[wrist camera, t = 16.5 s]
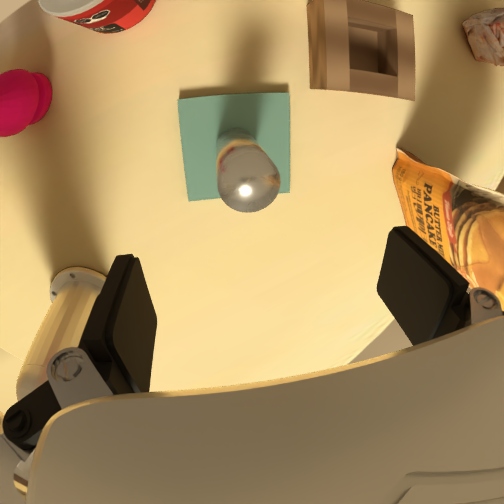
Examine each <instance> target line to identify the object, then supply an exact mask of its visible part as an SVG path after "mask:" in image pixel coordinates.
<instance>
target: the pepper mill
mask: <svg viewBox="0 0 504 504" xmlns="http://www.w3.org/2000/svg"><path fill="white" fill-rule="evenodd" d="M51 99H52V89H51V84H50V82H49V80H48V78H47V77H46V76H45V75H43V74H41V73H29V72H28V71H26V70H22V69H15V70H10V71H7V72H4V73H2V74H1V75H0V137H7V136H11V135H15V134H17V133H19V132H21V131H22V130H23V129H25V128H26V126H27V125H31V124H34V123H36V122H38V121H39V120H40V119H41V118H42V117H43V116H44V115H45V114H46V112H47V110H48V108H49V106H50V103H51Z"/></svg>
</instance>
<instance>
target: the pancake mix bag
mask: <svg viewBox="0 0 504 504" xmlns="http://www.w3.org/2000/svg"><path fill="white" fill-rule="evenodd" d="M396 150H397V156H398V159H397V161H396V163H395V165H394V166H393V168H392V172H393V180H394V184H395V187H396V190H397V193H398V197H399V200H400V204H401V207H402V210H403V214H404V218H405V222H406V226H408V227H409V228H410V229H412V230H413V231H414V232H415V233H416V234H417V235H419V236H420V237H421V238H422V239H423V240H424V241H426V242H427V243H428V244H429V245H430V246H431V247H432V248H433V249H434V250H436V251H437V252H438V253H439V254H440V255H441V256H442V257H443V258H444V259H445V260H446V261H447V262H449V263H450V264H451V265H452V266H453V267H454V268H455V269H456V270H457V271H458V272H459V273H460V274H461V275H462V276H463V277H464V278H465V279H466V280H467V281H468V282H469V283H470V284H469V287H470V288H471V289H473V288H475V287H481V288H485V289H487V290H489V291H491V292H492V293H494V294H495V295H496V296H497V298H498V299H499V301H500V303H501V308H502V311H504V194H503V193H500V192H497V191H494V190H491V189H487V188H483V187H479V186H476V185H473V184H470V183H467V182H465V181H463V180H461V179H459V178H457V177H455V176H454V175H452V174H450V173H448V172H446V171H444V170H442V169H440V168H435V167H431V166H428V165H427V164H425V163H423V162H422V161H421V160H419V159H418V158H417V157H415V156H414V155H413V154H411V153H409V152H407V151H405V150H403V149H400V148H397V147H396Z"/></svg>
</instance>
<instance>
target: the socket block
mask: <svg viewBox="0 0 504 504" xmlns="http://www.w3.org/2000/svg"><path fill="white" fill-rule="evenodd" d="M307 18H308V38H309V68H310V89H324V90H337V91H348V92H358V93H366V94H374V95H381V96H388V97H394V98H400V99H406V100H412V101H415V40H414V24H413V15H411V14H408V13H405V12H402V11H399V10H395V9H392V8H389V7H386V6H382V5H378V4H375V3H371V2H367V1H363V0H313V1H312V2H310V3H309V4H308V5H307Z"/></svg>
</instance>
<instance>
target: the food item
mask: <svg viewBox="0 0 504 504" xmlns="http://www.w3.org/2000/svg"><path fill="white" fill-rule="evenodd" d="M462 25H463V27H464V29H465V32H466V35H467V38H468V42H469V44H470V46H471V49H472V52H473V55H474V57H475V59H476V60H478V61H483V62H488V63H493V64H495V65H496V66H497V65H500V66H504V8H495V9H493V10H487V11H482V12H481V13H477V14H474V15H472V16H471V17H470V18H468V19H467V20H465V21H464V22H463V23H462Z"/></svg>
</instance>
